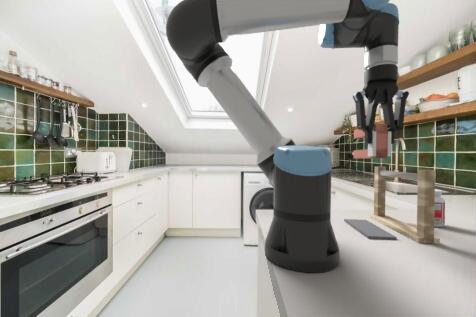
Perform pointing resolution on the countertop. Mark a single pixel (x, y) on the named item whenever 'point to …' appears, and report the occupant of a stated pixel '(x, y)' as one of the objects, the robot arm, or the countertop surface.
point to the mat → (369, 229)
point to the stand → (424, 205)
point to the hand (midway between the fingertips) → (379, 156)
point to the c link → (380, 142)
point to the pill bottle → (439, 209)
